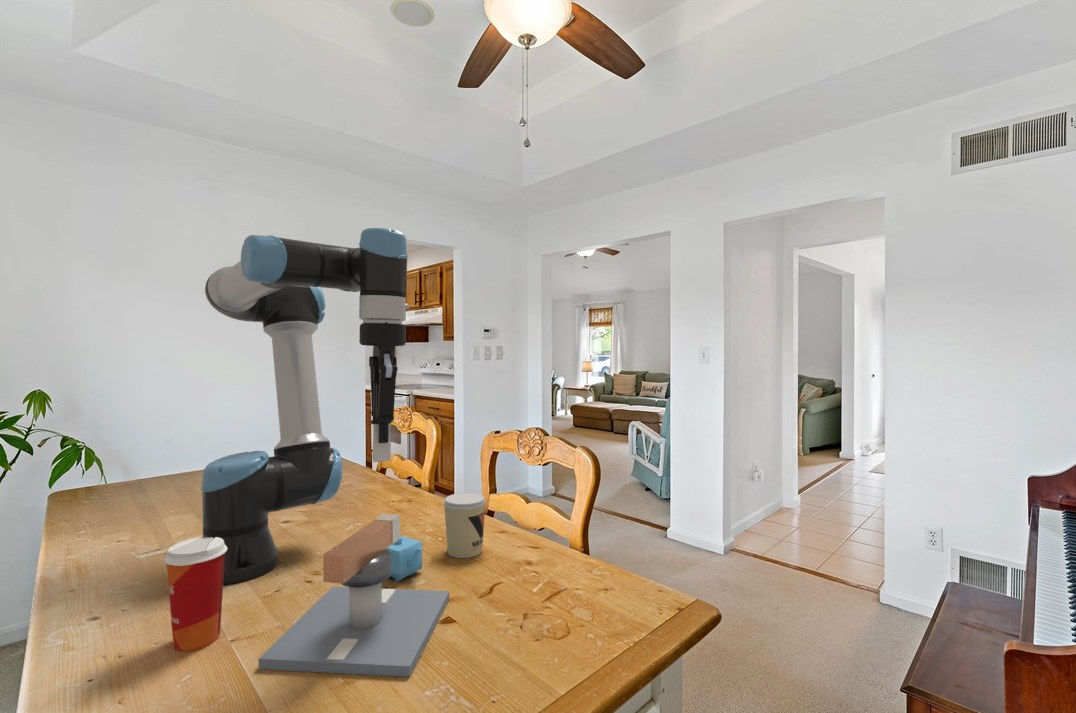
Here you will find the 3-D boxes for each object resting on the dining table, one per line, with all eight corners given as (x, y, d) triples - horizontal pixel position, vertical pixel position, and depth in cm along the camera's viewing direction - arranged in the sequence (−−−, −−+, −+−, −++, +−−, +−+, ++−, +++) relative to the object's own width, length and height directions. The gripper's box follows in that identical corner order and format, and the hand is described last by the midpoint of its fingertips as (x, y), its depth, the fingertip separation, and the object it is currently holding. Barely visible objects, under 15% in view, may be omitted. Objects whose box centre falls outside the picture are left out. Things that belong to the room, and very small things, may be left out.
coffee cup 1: (185, 627, 83) (184, 536, 83) (238, 624, 84) (237, 534, 84) (150, 658, 75) (149, 557, 75) (209, 655, 76) (208, 555, 75)
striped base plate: (258, 669, 72) (258, 609, 72) (332, 594, 94) (332, 549, 94) (409, 677, 71) (409, 616, 70) (449, 599, 93) (449, 552, 92)
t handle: (359, 605, 73) (358, 556, 73) (308, 600, 74) (308, 552, 74) (412, 555, 91) (412, 515, 90) (370, 552, 92) (370, 513, 92)
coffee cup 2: (478, 561, 109) (478, 505, 109) (437, 557, 111) (437, 502, 111) (490, 544, 118) (490, 493, 118) (452, 541, 120) (452, 491, 120)
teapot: (434, 576, 102) (434, 539, 102) (412, 589, 97) (411, 549, 97) (392, 563, 108) (392, 528, 108) (369, 574, 103) (369, 537, 103)
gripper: (413, 322, 82) (412, 467, 83) (398, 323, 94) (396, 451, 94) (365, 320, 79) (363, 472, 79) (355, 322, 90) (354, 454, 91)
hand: (381, 460), depth 87 cm, fingers closed
